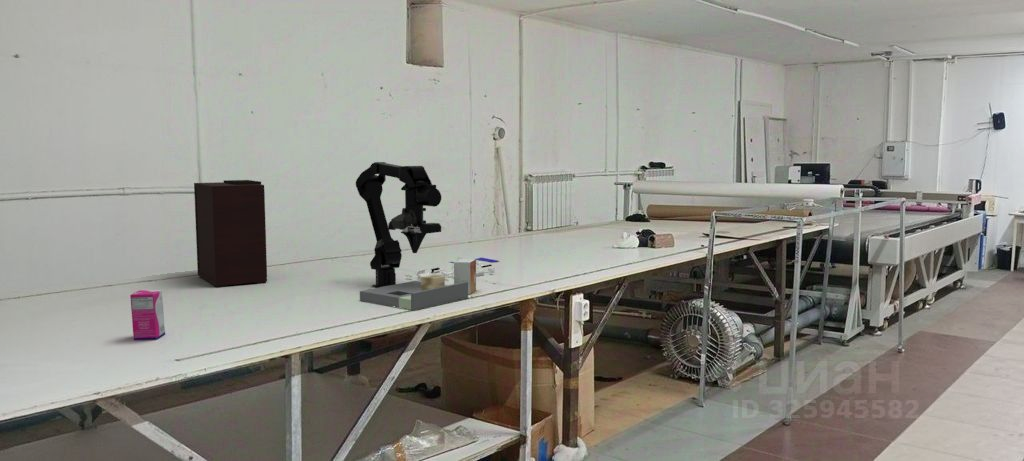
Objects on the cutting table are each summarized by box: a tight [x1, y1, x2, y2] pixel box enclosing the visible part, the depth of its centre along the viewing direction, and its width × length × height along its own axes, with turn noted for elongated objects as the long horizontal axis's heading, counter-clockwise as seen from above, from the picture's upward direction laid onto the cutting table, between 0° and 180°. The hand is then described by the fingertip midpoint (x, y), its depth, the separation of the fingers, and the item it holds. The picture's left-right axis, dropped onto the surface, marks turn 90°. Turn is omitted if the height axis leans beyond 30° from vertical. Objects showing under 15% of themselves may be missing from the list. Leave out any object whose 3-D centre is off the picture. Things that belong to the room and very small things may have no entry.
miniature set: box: [404, 257, 496, 281], centre depth 282 cm, size 6×35×12 cm
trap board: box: [359, 280, 469, 311], centre depth 239 cm, size 23×24×5 cm
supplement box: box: [129, 289, 166, 341], centre depth 190 cm, size 6×6×12 cm
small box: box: [453, 258, 477, 295], centre depth 251 cm, size 8×6×10 cm
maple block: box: [421, 274, 446, 291], centre depth 234 cm, size 5×5×5 cm
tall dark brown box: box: [193, 179, 268, 288], centre depth 272 cm, size 19×27×35 cm
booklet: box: [449, 257, 498, 264], centre depth 316 cm, size 12×25×1 cm, turn 130°
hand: (414, 253), depth 248 cm, fingers closed
